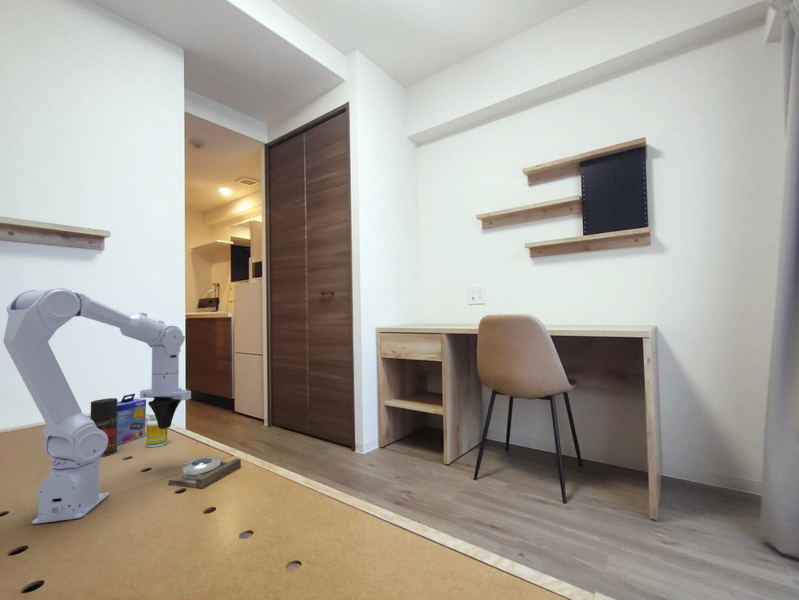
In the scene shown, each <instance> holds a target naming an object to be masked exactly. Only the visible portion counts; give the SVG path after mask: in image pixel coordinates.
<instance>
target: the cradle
mask: <svg viewBox="0 0 799 600" xmlns="http://www.w3.org/2000/svg"><path fill="white" fill-rule="evenodd" d="M241 460H242V459H241V458H238V457H237V458H234V459H232V460H230V461H226V460H220V467H218V468H216V469H214V470H212V471H211V472H209V473H207V474H205V475H203V476H201V477H199V478H197V479H196V481H192V480H185V479H183V478H177V477H176V478H175V477H171V478H170V479H168V483H167V484H168V485H170V484H171V486H177V485H178V487H184V486H185V488H186V487H187V488H191V489H199V490H202V489H204V488H206V487H208V486H209V485H212V484H213V483H215V482H217V481H218V480H221V479H222V478H224V477H225V476H227V475H229V474H231V473H233V472H235V471H236V470H238V469H240V468H241V467H242V466H241V464H242V461H241Z"/></svg>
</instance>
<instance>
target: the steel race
mask: <svg viewBox="0 0 799 600" xmlns="http://www.w3.org/2000/svg"><path fill="white" fill-rule="evenodd" d="M220 461H221V457H220V456H216V455H204V456H200V457H194V458H192V459H190V460H187V461H185V462H184V463H182V478H181V479H185V480H192V481H196V479H197V478H199V477H201V476H203V475H205V474H207V473H209V472H211V471H212V470H214V469H216V468H218V467H220Z"/></svg>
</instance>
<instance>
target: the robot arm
mask: <svg viewBox="0 0 799 600" xmlns="http://www.w3.org/2000/svg"><path fill="white" fill-rule="evenodd" d="M5 310H6V312H7V315H8V316H7V320H6V322H7V323H6V326H5V330H4V335H3V344H4V347H5V348H6V350H7V353H8V354H9V356H10V358H11V360H12V363H13V364H14V365H15V367H16V370H17V372H18V373H19V375H20V377H21V379H22V381H23V383H24V384H25V387H26V388H27V390H28V392H29V394H30V396H31V398H32V400H33V401H34V403H35V405H36V407H37V409H38V411H39V413H40V415H41V417H42V418H43V421H44V422H45V424H46V425H45V427H44V429H43V430H42V434H43V435H44V439H45V440H44V441H45V443H44V451H45V453H46V455H47V456H48V457H49V458H51V460H52V461H51V462H52V463H51V471H50V473H49V475H48V476H47V477H46V478H44V480H43V481H42V482H41V483H40V485H39V488H38V499H37V503H38V504H37V505H38V506H37V517H36V518H35V519H33V520H31V524H32V525H37V524H43V523H51V522H58V521H65V520H67V521H68V520H75V519H80V518H83V517H84V516H85V515H87V514H88V513H90V512H91V510H93V509H94V508H95V507H97V505H99V503H101V502H102V501H103V500H104V499H106V498H107V497H108V496H109V492H102V493H100V468H101V467H100V466H101V465H100V463H101V462H100V460H101V457H100V456H101V455H102V454H103V453H104V451H105V450H106V448H107V445H108V437H107V434H106V433H105V432H104V431H102V430H100V429H98V428H97V427H96V425H95V423H94V421H93V420H91V417H89V416H87V415H86V414H85V413H84V412H83V411H82V408H81V407H80V405H79V403H78V401H77V398H76V396H75V394H74V392H73V391H72V388H71V387H70V384H69V382H68V379H66V376H65V374H64V372H63V371H62V368H61V366H60V363H59V362H58V359H57V358H56V355H55V353H54V352H53V350H52V347H51V345H50V343H49V341H50V339H52V337H53V335H54V334H55V333H56V332H57V330H58V329H59V328H61V327H62V326H64V325H65V324H67V322H69V321H70V320H72V319H73V318H74V317H83V318H87V319H88V320H89V319H90V320H93V321H97V322H100V323H102V324H107V325H108V326H112V327H116V328H119V331H120V333H121V334H122V335H123V336H125V337H128V338H131V339H134V340H136V341H139V342H143V343H144V344H145V343H146V344H147V346H148V347H149V348H150V349H151V388H149V389H148V388H147V389H141V390H140V391H139V399H147V398H148V399H153V400H151V401H148V403H147V404H148V406H149V407H150V408H151V410H152V413H153V412H154V414H155V416H156V419H157V423H158V426H159V429H165V428H168V429H169V428H171V426H172V422H173V419H174V416H175V413H176V410H177V408H178V407H179V405H180V403H181V402H182V401H187V400H190V399H192V391H191V390H187V389H182V387H179V384H180V383H179V378H180V377H179V375H180V374H179V372H180V371H179V370H180V369H179V368H180V367H179V366H180V365H179V361H180V360H179V357H180V356H179V355H180V352H181V347H182V345H183V343H184V342H185V339H186V338H185V337H186V336H185V335H184V333H183V331H182V330H181V328H179V327H178V326H176V325H166V324H165V321H163V320H156V319H153V318H152V317H148V313H146V312H142V311H140V312H132V313H130V314H126V313H125V312H122V311H120V310H118V309H115V308H113V307H112V306H109V305H106V304H104V303H102V302H99V301H98V300H95V299H93V298H91V297H89V296H87V295H85V294H83V293H81V292H74V291H72V290H70V289H68V288H66V287H65V288H64V287H54V288H50V289H39V290H37V289H36V290H35V289H31V290H25V291H22V292H21V293H19V294H17V296H16V297H14V298H13V300H12V301H11V302H10V303H9V304H8V306H6V309H5Z"/></svg>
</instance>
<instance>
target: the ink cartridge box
mask: <svg viewBox="0 0 799 600" xmlns="http://www.w3.org/2000/svg"><path fill="white" fill-rule="evenodd" d="M135 396H136V393H135V392H134V393H130V394H125V395H123V396H122V399H121V401H117V446H119V445H122V444H125V443H128V442H131V441H134V440H137V439H140V438H144V437H145V434H146V413H147V412H146V411H147V410H146V409H147V406H146V405H147V398H135Z"/></svg>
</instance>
